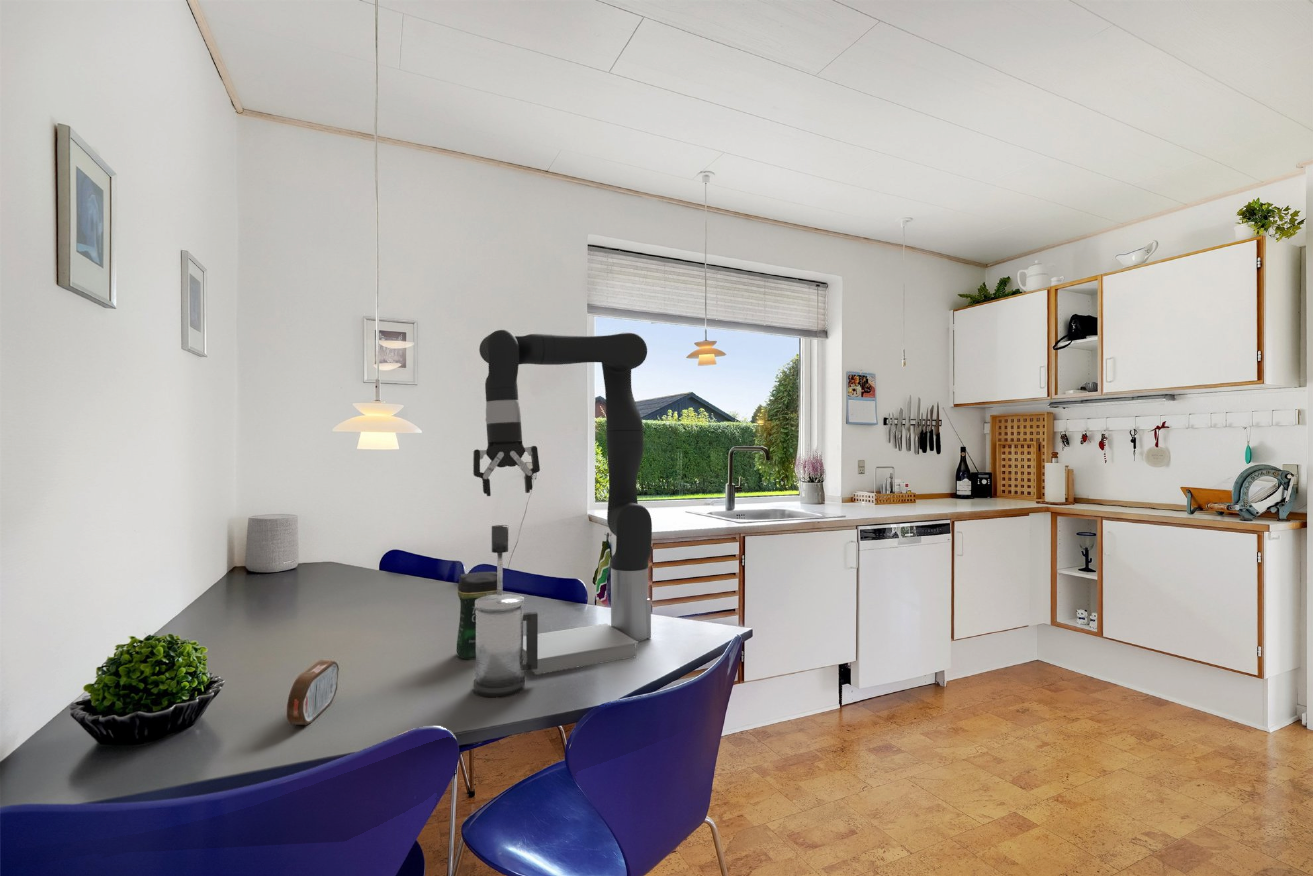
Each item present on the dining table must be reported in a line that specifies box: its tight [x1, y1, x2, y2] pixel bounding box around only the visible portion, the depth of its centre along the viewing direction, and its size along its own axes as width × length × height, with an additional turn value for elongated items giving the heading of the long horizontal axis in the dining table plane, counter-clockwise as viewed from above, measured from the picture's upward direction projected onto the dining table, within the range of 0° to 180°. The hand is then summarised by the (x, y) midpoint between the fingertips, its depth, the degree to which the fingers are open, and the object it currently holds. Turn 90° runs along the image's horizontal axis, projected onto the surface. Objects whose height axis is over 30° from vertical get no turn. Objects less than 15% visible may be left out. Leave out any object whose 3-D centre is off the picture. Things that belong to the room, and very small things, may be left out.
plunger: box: [491, 524, 509, 596], centre depth 124 cm, size 3×3×14 cm
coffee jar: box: [456, 571, 497, 660], centre depth 144 cm, size 10×8×19 cm
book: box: [523, 623, 639, 675], centre depth 144 cm, size 18×4×24 cm
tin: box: [286, 659, 340, 726], centre depth 112 cm, size 15×3×8 cm, turn 5°
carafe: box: [473, 593, 539, 699], centre depth 124 cm, size 12×10×17 cm
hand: (508, 494), depth 140 cm, fingers open, 8 cm apart
